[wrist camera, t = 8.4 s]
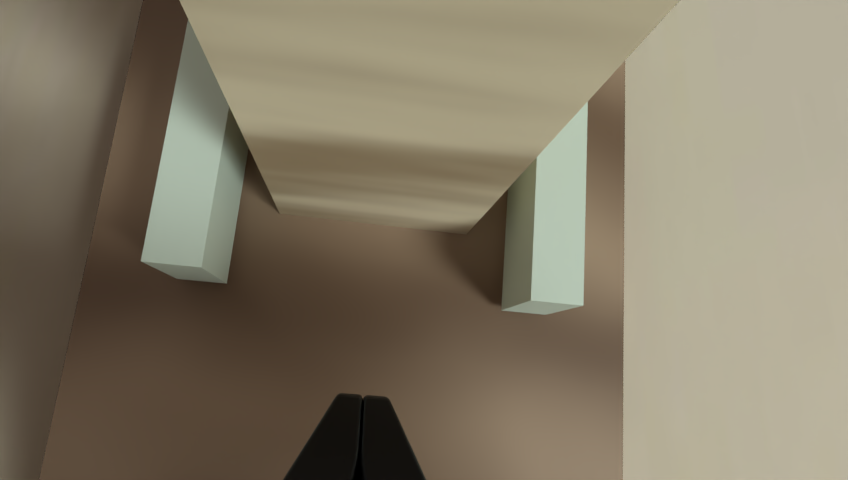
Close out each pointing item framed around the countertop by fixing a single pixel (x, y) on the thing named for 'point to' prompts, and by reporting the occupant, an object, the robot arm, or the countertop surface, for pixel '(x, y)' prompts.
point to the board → (331, 327)
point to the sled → (224, 173)
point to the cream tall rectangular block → (409, 95)
